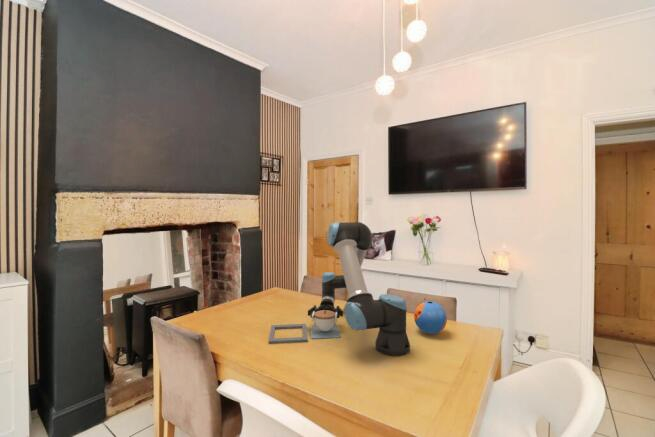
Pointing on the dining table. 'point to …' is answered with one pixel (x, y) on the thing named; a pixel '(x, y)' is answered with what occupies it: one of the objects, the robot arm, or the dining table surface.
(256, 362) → the dining table surface
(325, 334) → the pad
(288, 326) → the puzzle board
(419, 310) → the treat dispenser ball
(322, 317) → the lidded jar
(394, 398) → the dining table surface
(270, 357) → the dining table surface
